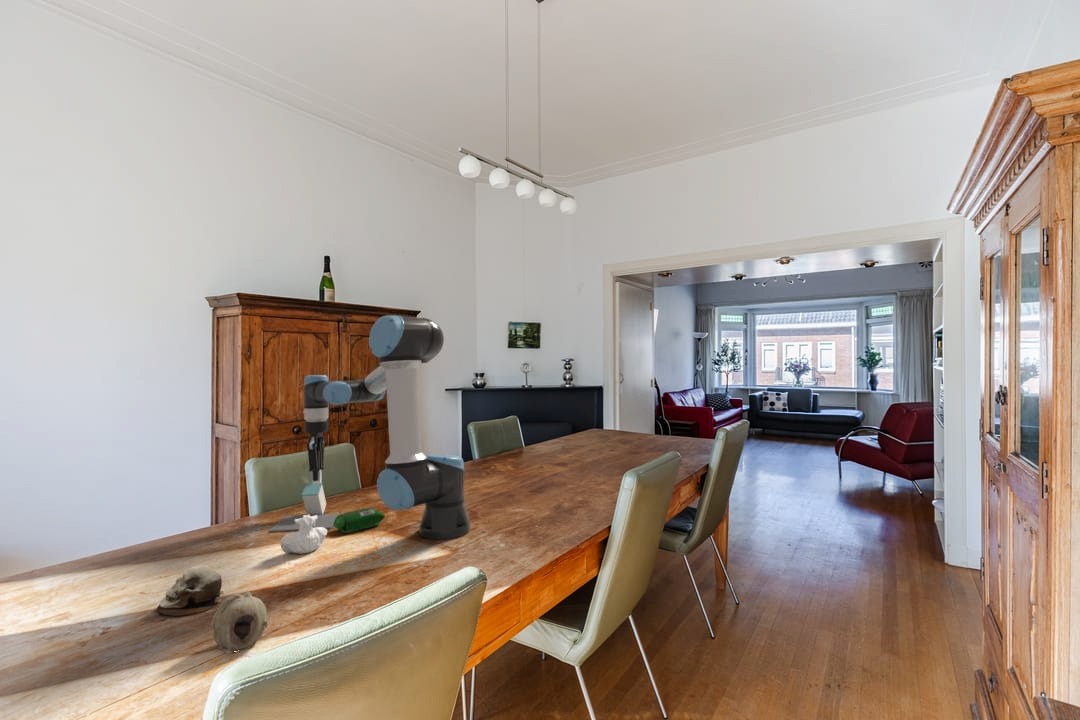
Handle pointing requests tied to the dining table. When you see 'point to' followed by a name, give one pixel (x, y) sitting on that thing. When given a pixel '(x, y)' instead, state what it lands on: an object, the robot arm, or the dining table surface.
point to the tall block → (314, 498)
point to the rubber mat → (291, 525)
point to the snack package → (358, 520)
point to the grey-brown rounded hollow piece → (239, 622)
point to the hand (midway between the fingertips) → (316, 489)
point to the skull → (193, 592)
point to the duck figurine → (304, 536)
